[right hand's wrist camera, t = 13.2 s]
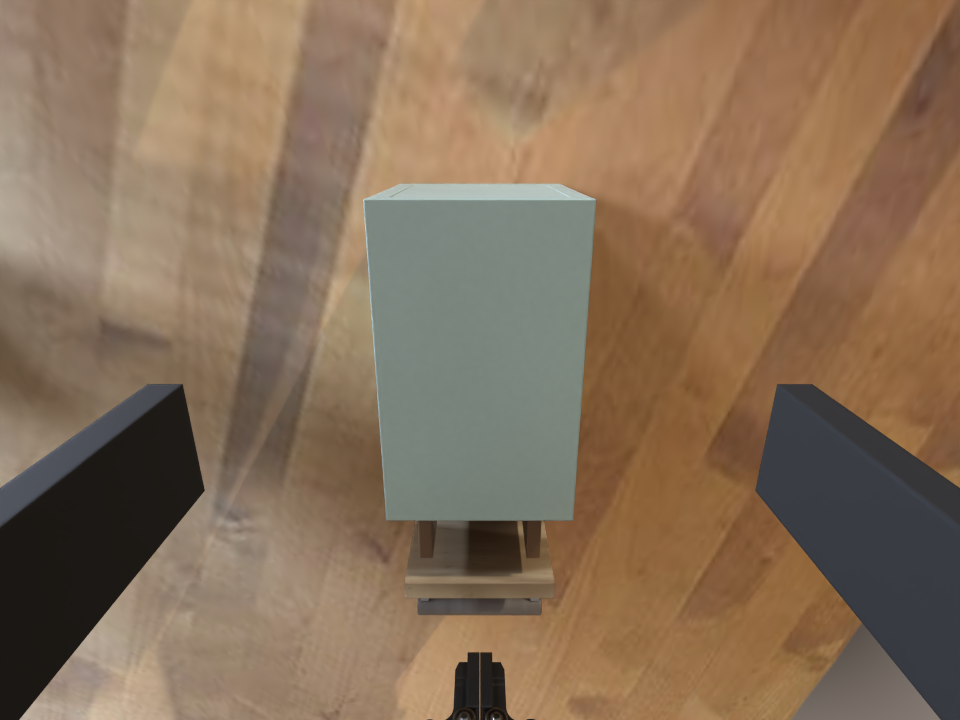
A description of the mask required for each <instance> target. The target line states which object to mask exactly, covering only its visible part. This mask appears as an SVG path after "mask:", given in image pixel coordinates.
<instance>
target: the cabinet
mask: <svg viewBox="0 0 960 720" xmlns="http://www.w3.org/2000/svg"><path fill="white" fill-rule="evenodd" d="M363 201H364V215H365V229H366V243H367V257H368V271H369V284H370V298H371V312H372V326H373V340H374V354H375V368H376V382H377V396H378V410H379V424H380V438H381V452H382V466H383V480H384V494H385V508H386V520H387V521H573V513H574V499H575V486H576V472H577V458H578V445H579V431H580V417H581V403H582V390H583V376H584V362H585V348H586V335H587V321H588V307H589V293H590V280H591V266H592V252H593V238H594V225H595V211H596V199H594V198H591V197H588V196H586V195H584V194H581V193H579V192H577V191H574V190H572V189H570V188H567V187H565V186H563V185H561V184H399V185H397V186H394V187H392V188H390V189H387V190H385V191H383V192H380V193H378V194H375V195H373V196H371V197H368V198H366V199H364V200H363Z"/></svg>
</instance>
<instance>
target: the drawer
mask: <svg viewBox="0 0 960 720" xmlns="http://www.w3.org/2000/svg"><path fill="white" fill-rule="evenodd" d="M554 589H555V581H554V575H553V570H552V564H551V558H550V552H549V546H548V541H547V535H546V529H545V523H544V521H415V526H414V531H413V537H412V543H411V549H410V554H409V560H408V566H407V571H406V577H405V597H406V598H418V615H541V613H542V603H541V598H554Z"/></svg>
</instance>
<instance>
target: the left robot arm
mask: <svg viewBox="0 0 960 720" xmlns="http://www.w3.org/2000/svg"><path fill="white" fill-rule="evenodd" d="M429 720H431V719H429ZM446 720H479V652H468V662H459V664H458V666H457V668H456V670H455V691H454V709H453V712H452V714H451V716H450V717H449V718H448V719H446ZM480 720H513V719H512V718H511V717H510V716H509V715H508V713H507V710H506V695H505V674H504V668H503V666H502V664H501V662H492V652H480ZM527 720H534V719H527Z"/></svg>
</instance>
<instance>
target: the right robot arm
mask: <svg viewBox="0 0 960 720" xmlns="http://www.w3.org/2000/svg"><path fill="white" fill-rule="evenodd" d="M204 491H205V490H204V485H203V480H202V475H201V471H200V466H199V461H198V456H197V451H196V446H195V442H194V437H193V432H192V427H191V422H190V418H189V413H188V408H187V403H186V398H185V393H184V389H183V384H148V385H146V386H145V387H143V388H142V389H140V390H139V391H138V392H136V393H135V394H133V395H132V396H131V397H129V398H128V399H126V400H125V401H123V402H122V403H121V404H119V405H118V406H116V407H115V408H113V409H112V410H111V411H109V412H108V413H106V414H105V415H104V416H102V417H101V418H99V419H98V420H96V421H95V422H94V423H92V424H91V425H89V426H88V427H86V428H85V429H84V430H82V431H81V432H79V433H78V434H76V435H75V436H74V437H72V438H71V439H69V440H68V441H67V442H65V443H64V444H62V445H61V446H59V447H58V448H57V449H55V450H54V451H52V452H51V453H49V454H48V455H47V456H45V457H44V458H42V459H41V460H40V461H38V462H37V463H35V464H34V465H32V466H31V467H30V468H28V469H27V470H25V471H24V472H22V473H21V474H20V475H18V476H17V477H15V478H14V479H13V480H11V481H10V482H8V483H7V484H5V485H4V486H3V487H1V488H0V720H19V719H20V718H21V717H22V716H23V714H24V713H25V712H26V711H27V709H28V708H29V707H30V706H31V704H32V703H33V702H34V701H35V700H36V698H37V697H38V696H39V695H40V693H41V692H42V691H43V690H44V688H45V687H46V686H47V685H48V683H49V682H50V681H51V680H52V679H53V677H54V676H55V675H56V674H57V672H58V671H59V670H60V669H61V667H62V666H63V665H64V664H65V662H66V661H67V660H68V659H69V658H70V656H71V655H72V654H73V653H74V651H75V650H76V649H77V648H78V646H79V645H80V644H81V643H82V641H83V640H84V639H85V638H86V637H87V635H88V634H89V633H90V632H91V630H92V629H93V628H94V627H95V625H96V624H97V623H98V622H99V620H100V619H101V618H102V617H103V616H104V614H105V613H106V612H107V611H108V609H109V608H110V607H111V606H112V604H113V603H114V602H115V601H116V600H117V598H118V597H119V596H120V595H121V593H122V592H123V591H124V590H125V588H126V587H127V586H128V585H129V583H130V582H131V581H132V580H133V579H134V577H135V576H136V575H137V574H138V572H139V571H140V570H141V569H142V567H143V566H144V565H145V564H146V562H147V561H148V560H149V559H150V558H151V556H152V555H153V554H154V553H155V551H156V550H157V549H158V548H159V546H160V545H161V544H162V543H163V541H164V540H165V539H166V538H167V537H168V535H169V534H170V533H171V532H172V530H173V529H174V528H175V527H176V525H177V524H178V523H179V522H180V520H181V519H182V518H183V517H184V516H185V514H186V513H187V512H188V511H189V509H190V508H191V507H192V506H193V504H194V503H195V502H196V501H197V499H198V498H199V497H200V496H201V495H202V493H203V492H204ZM755 491H756V492H757V493H758V495H759V496H760V497H761V498H762V499H763V501H764V502H765V503H766V504H767V506H768V507H769V508H770V509H771V511H772V512H773V513H774V514H775V516H776V517H777V518H778V519H779V520H780V522H781V523H782V524H783V525H784V527H785V528H786V529H787V530H788V532H789V533H790V534H791V535H792V537H793V538H794V539H795V540H796V541H797V543H798V544H799V545H800V546H801V548H802V549H803V550H804V551H805V553H806V554H807V555H808V556H809V558H810V559H811V560H812V561H813V562H814V564H815V565H816V566H817V567H818V569H819V570H820V571H821V572H822V574H823V575H824V576H825V577H826V579H827V580H828V581H829V582H830V583H831V585H832V586H833V587H834V588H835V590H836V591H837V592H838V593H839V595H840V596H841V597H842V598H843V600H844V601H845V602H846V603H847V604H848V606H849V607H850V608H851V609H852V611H853V612H854V613H855V614H856V616H857V617H858V618H859V619H860V620H861V622H862V623H863V624H864V625H865V627H866V628H867V629H868V630H869V632H870V633H871V634H872V635H873V637H874V638H875V639H876V640H877V641H878V643H879V644H880V645H881V646H882V648H883V649H884V650H885V651H886V653H887V654H888V655H889V656H890V657H891V659H892V660H893V661H894V662H895V664H896V665H897V666H898V667H899V669H900V670H901V671H902V672H903V674H904V675H905V676H906V677H907V679H908V680H909V681H910V682H911V683H912V685H913V686H914V687H915V688H916V690H917V691H918V692H919V693H920V695H921V696H922V697H923V698H924V700H925V701H926V702H927V703H928V704H929V706H930V707H931V708H932V709H933V711H934V712H935V713H936V714H937V715H938V717H939V718H940V719H941V720H960V488H959V487H957V486H956V485H955V484H953V483H952V482H950V481H949V480H947V479H946V478H945V477H943V476H942V475H940V474H939V473H938V472H936V471H935V470H933V469H932V468H930V467H929V466H928V465H926V464H925V463H923V462H922V461H920V460H919V459H918V458H916V457H915V456H913V455H912V454H911V453H909V452H908V451H906V450H905V449H903V448H902V447H901V446H899V445H898V444H896V443H895V442H893V441H892V440H891V439H889V438H888V437H886V436H885V435H884V434H882V433H881V432H879V431H878V430H876V429H875V428H874V427H872V426H871V425H869V424H868V423H866V422H865V421H864V420H862V419H861V418H859V417H858V416H856V415H855V414H854V413H852V412H851V411H849V410H848V409H847V408H845V407H844V406H842V405H841V404H839V403H838V402H837V401H835V400H834V399H832V398H831V397H829V396H828V395H827V394H825V393H824V392H822V391H821V390H820V389H818V388H817V387H815V386H814V385H812V384H777V389H776V393H775V398H774V403H773V408H772V413H771V418H770V422H769V427H768V432H767V437H766V442H765V446H764V451H763V456H762V461H761V466H760V471H759V475H758V480H757V485H756V490H755Z"/></svg>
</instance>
